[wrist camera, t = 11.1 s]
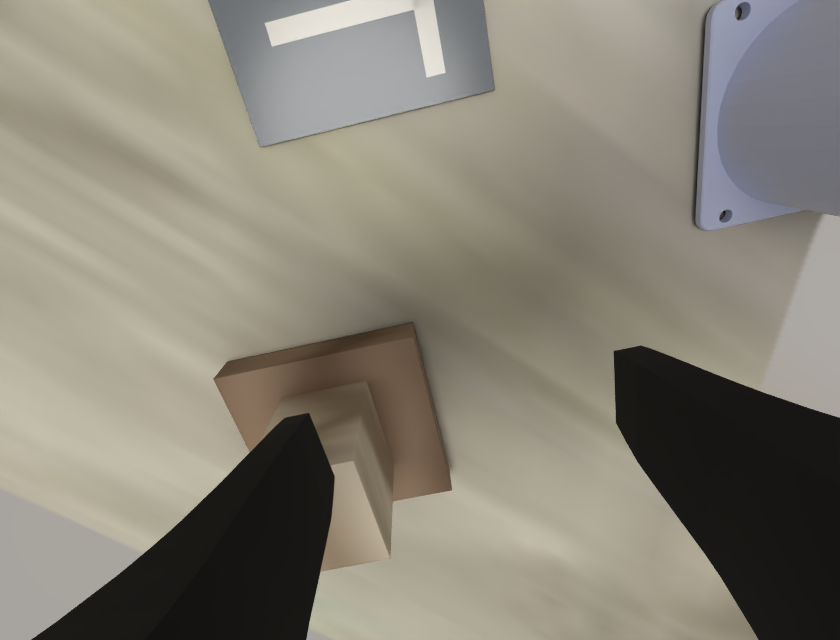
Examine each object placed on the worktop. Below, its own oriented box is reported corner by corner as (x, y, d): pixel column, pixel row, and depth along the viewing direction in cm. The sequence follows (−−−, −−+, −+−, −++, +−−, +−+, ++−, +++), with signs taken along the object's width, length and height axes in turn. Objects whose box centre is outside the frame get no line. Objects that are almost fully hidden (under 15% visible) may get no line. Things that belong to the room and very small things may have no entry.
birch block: (366, 380, 19) (353, 460, 14) (393, 464, 21) (390, 558, 16) (280, 398, 19) (240, 483, 14) (316, 479, 21) (290, 576, 16)
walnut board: (412, 322, 19) (413, 337, 18) (449, 468, 23) (451, 490, 21) (226, 361, 20) (213, 378, 18) (291, 498, 23) (284, 521, 22)
